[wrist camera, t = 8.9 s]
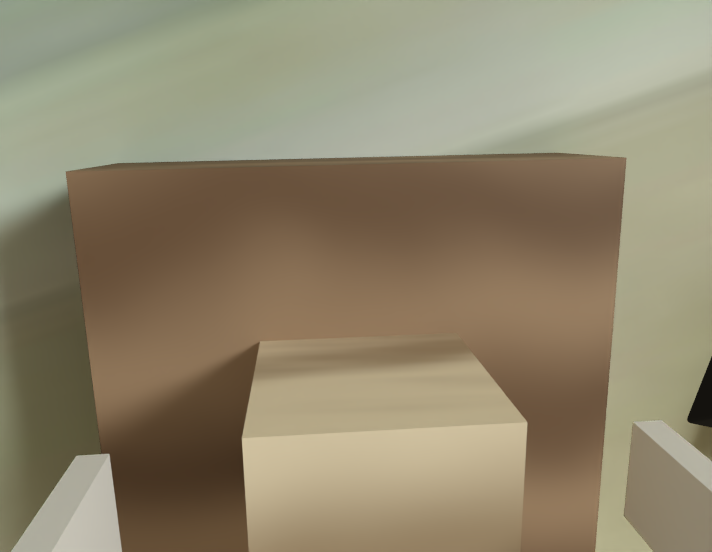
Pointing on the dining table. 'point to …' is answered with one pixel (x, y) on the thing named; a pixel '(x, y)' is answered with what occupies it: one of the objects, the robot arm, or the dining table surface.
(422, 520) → the maple cube
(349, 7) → the dining table surface
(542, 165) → the walnut block
